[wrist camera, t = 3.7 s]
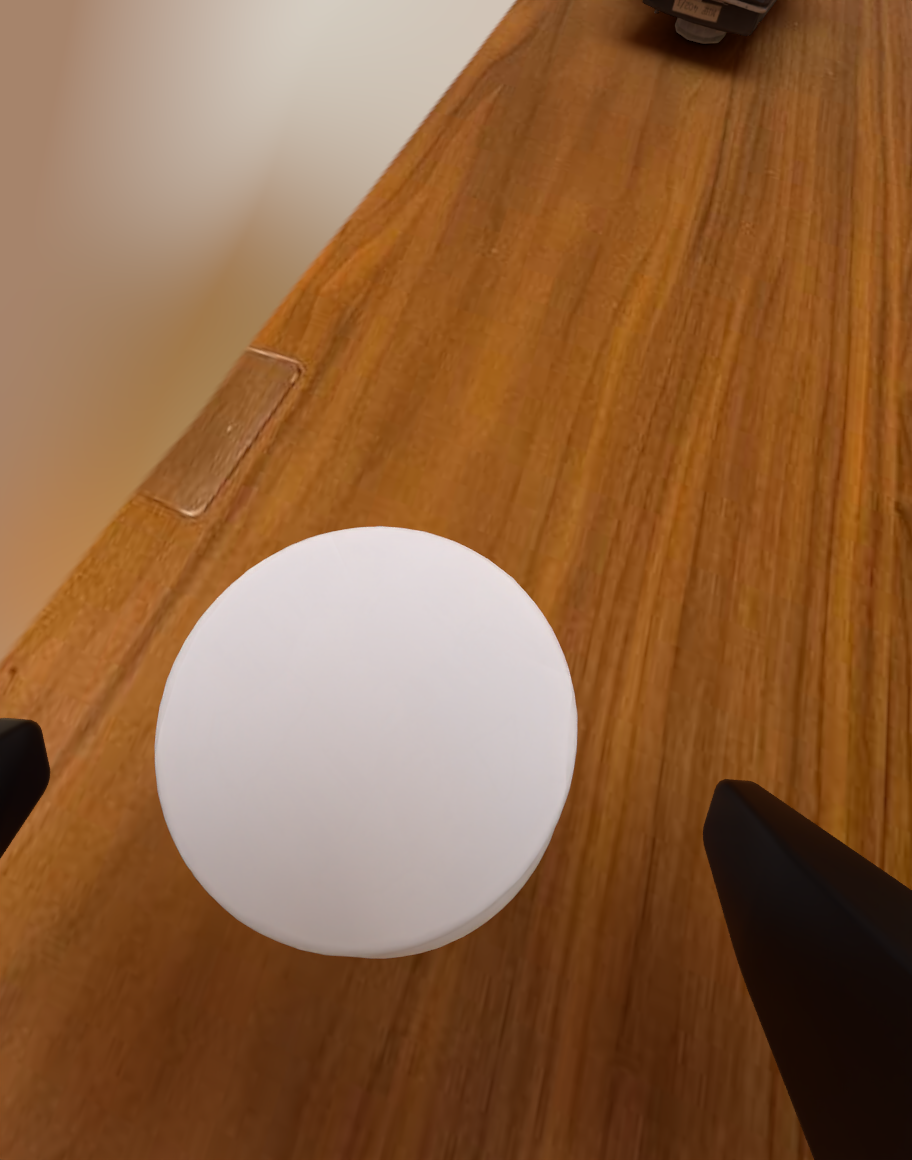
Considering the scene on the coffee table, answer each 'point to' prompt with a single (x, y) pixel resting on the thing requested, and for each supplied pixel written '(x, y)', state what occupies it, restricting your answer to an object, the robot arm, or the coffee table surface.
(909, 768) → the coffee table surface
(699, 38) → the camera
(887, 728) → the coffee table surface
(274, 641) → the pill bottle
